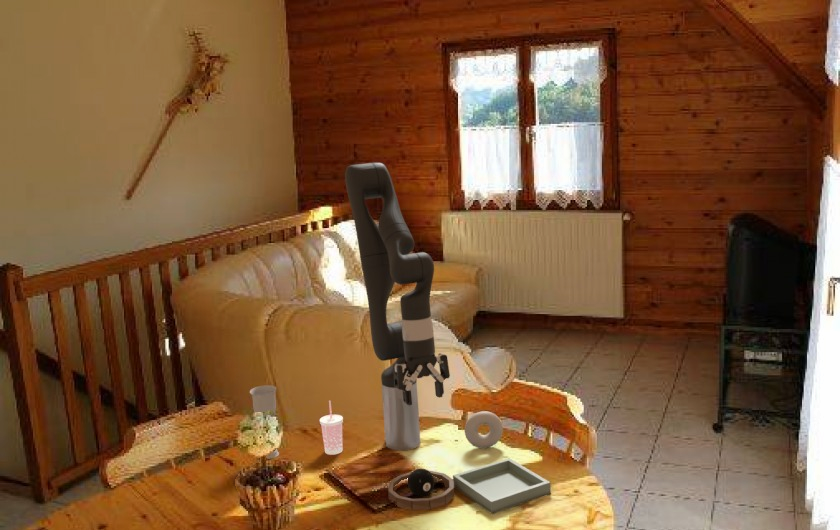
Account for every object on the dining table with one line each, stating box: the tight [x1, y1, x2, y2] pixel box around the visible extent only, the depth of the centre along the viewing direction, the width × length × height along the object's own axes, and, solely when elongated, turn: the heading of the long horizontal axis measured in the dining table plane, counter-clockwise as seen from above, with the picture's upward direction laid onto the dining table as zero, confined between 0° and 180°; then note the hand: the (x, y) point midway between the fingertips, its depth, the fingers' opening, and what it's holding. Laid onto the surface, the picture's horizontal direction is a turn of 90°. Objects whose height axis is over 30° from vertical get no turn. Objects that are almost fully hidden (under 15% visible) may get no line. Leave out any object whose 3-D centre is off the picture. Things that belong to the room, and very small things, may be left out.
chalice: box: [249, 384, 280, 460], centre depth 212 cm, size 7×7×18 cm
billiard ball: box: [407, 468, 435, 497], centre depth 187 cm, size 6×6×6 cm
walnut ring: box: [387, 470, 455, 511], centre depth 187 cm, size 15×15×2 cm
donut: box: [464, 410, 504, 449], centre depth 210 cm, size 10×4×10 cm, turn 96°
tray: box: [452, 457, 552, 515], centre depth 187 cm, size 16×16×3 cm
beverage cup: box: [319, 400, 344, 456], centre depth 213 cm, size 6×6×14 cm
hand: (424, 400), depth 198 cm, fingers open, 8 cm apart
